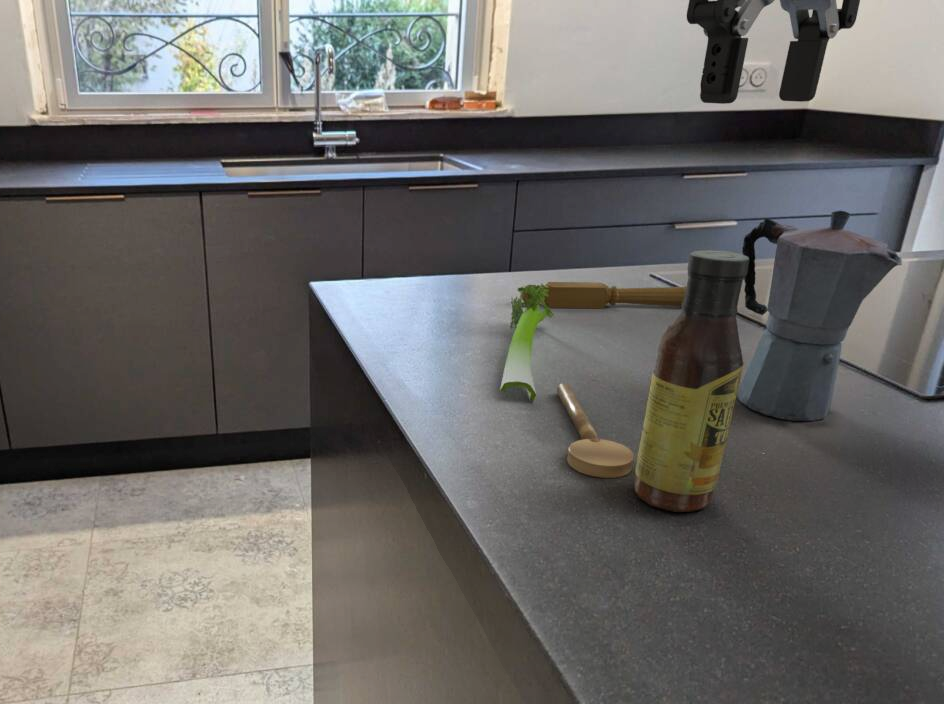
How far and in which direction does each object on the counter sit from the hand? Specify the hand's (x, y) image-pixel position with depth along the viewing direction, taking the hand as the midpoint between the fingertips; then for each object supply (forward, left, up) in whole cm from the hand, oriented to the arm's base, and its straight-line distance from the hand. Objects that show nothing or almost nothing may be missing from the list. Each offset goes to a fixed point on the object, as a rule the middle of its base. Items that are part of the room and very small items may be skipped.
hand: (757, 102), depth 54 cm
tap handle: (-11, -60, -30) cm, 68 cm away
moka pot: (-17, -21, -30) cm, 41 cm away
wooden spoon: (+5, -14, -30) cm, 33 cm away
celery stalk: (+7, -36, -30) cm, 47 cm away
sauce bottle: (0, 0, -30) cm, 30 cm away
